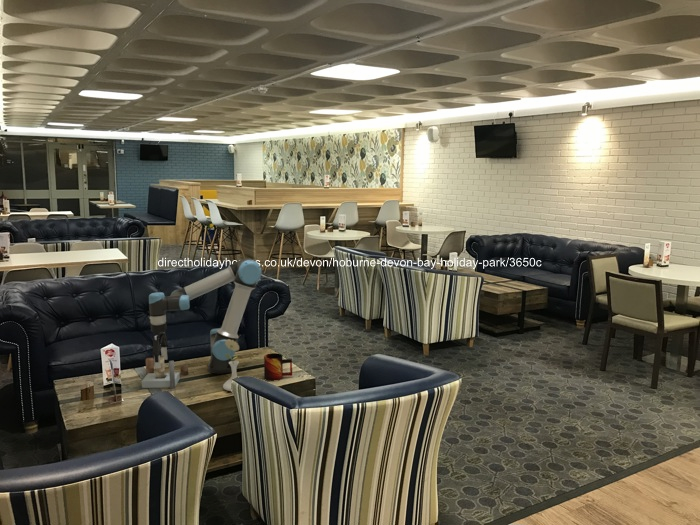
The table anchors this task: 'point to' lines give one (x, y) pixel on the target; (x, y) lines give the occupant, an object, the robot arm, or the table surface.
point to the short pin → (184, 370)
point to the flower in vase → (231, 363)
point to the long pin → (161, 369)
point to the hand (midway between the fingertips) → (161, 363)
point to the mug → (275, 367)
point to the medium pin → (149, 365)
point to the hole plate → (168, 381)
